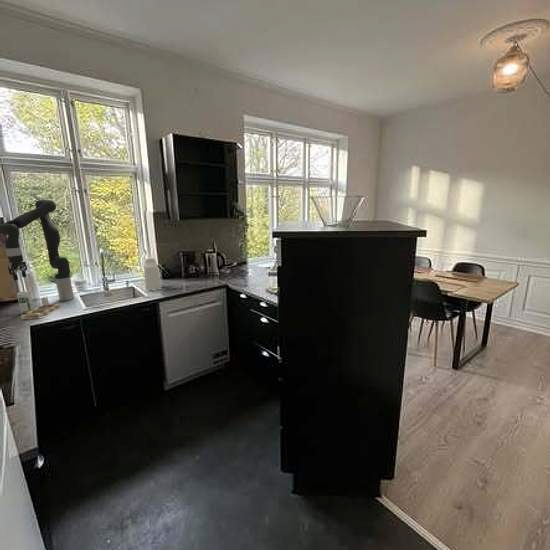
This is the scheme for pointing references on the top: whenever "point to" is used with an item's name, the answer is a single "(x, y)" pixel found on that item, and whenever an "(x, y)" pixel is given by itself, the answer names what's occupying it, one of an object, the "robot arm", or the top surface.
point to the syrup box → (25, 301)
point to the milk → (152, 274)
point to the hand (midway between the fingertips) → (20, 278)
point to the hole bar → (40, 311)
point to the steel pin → (45, 302)
